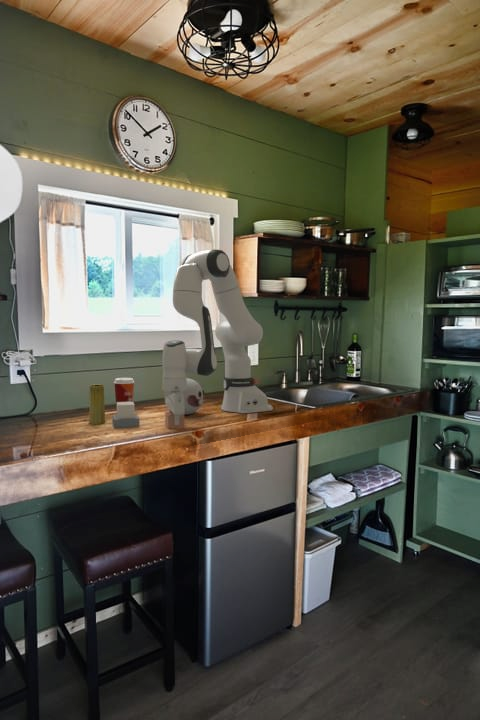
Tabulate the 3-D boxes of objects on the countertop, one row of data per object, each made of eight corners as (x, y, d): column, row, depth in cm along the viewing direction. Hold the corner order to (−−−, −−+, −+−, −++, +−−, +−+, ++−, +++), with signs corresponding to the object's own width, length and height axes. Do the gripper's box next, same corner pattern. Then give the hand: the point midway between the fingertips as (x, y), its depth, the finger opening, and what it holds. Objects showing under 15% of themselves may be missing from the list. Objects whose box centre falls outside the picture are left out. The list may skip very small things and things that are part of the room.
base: (136, 421, 191) (136, 413, 191) (139, 426, 183) (139, 418, 182) (112, 422, 188) (112, 414, 188) (114, 427, 180) (114, 419, 179)
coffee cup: (129, 418, 196) (129, 380, 194) (110, 417, 198) (110, 379, 196) (138, 413, 204) (138, 377, 203) (119, 412, 206) (119, 377, 204)
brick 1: (132, 414, 189) (132, 401, 188) (134, 417, 183) (134, 404, 183) (116, 415, 187) (116, 402, 187) (118, 418, 181) (117, 405, 181)
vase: (108, 421, 190) (108, 384, 188) (99, 424, 184) (98, 387, 183) (95, 420, 192) (94, 383, 190) (85, 423, 186) (84, 385, 185)
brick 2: (180, 424, 187) (180, 411, 186) (184, 427, 181) (184, 414, 181) (165, 425, 185) (165, 412, 184) (168, 428, 179) (168, 415, 179)
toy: (196, 419, 195) (196, 381, 194) (160, 416, 199) (160, 379, 197) (208, 411, 210) (208, 376, 208) (174, 409, 213) (174, 375, 212)
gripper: (188, 389, 173) (188, 428, 174) (177, 380, 192) (177, 416, 193) (170, 390, 171) (171, 429, 172) (161, 381, 190) (161, 416, 191)
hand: (174, 422), depth 183 cm, fingers closed on brick 2, 6 cm apart
